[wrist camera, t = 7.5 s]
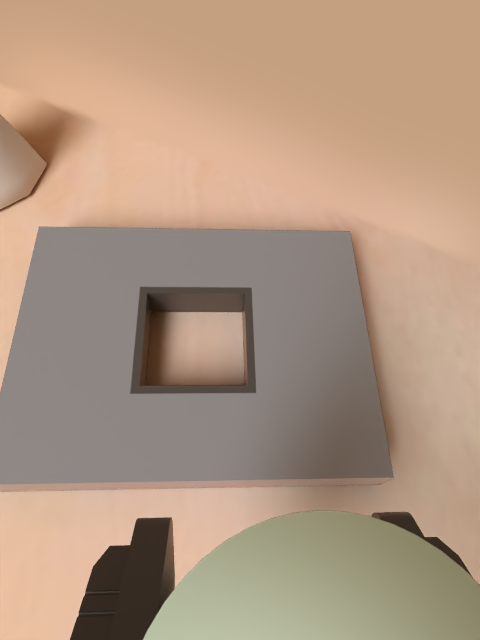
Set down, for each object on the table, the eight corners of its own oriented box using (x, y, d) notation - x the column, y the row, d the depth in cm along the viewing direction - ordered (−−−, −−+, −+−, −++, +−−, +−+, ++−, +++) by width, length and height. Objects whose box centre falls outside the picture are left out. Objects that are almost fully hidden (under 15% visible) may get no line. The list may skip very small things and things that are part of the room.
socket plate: (341, 251, 29) (349, 231, 27) (379, 484, 22) (393, 477, 20) (49, 248, 28) (38, 226, 26) (-2, 491, 21) (-22, 484, 19)
